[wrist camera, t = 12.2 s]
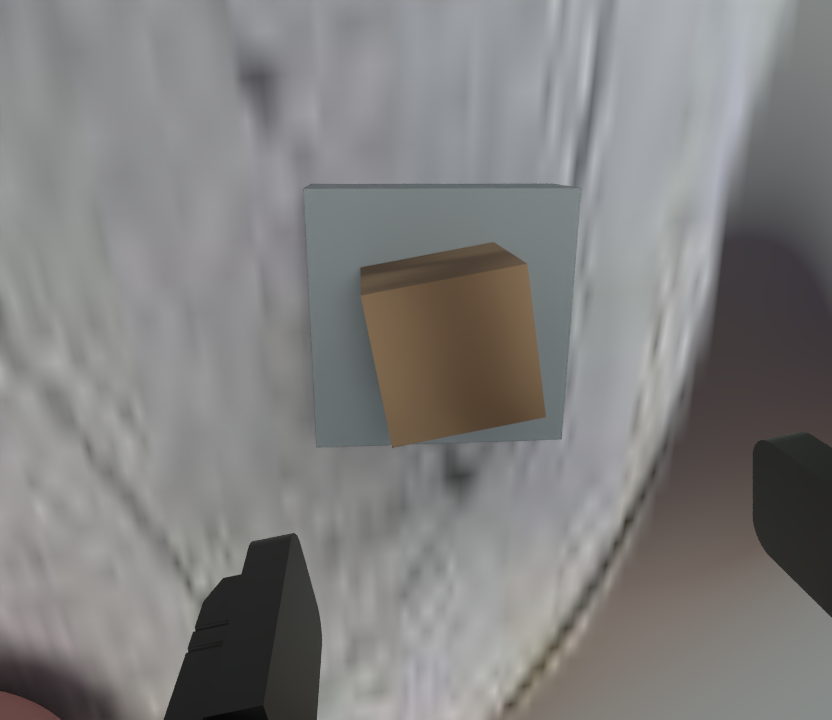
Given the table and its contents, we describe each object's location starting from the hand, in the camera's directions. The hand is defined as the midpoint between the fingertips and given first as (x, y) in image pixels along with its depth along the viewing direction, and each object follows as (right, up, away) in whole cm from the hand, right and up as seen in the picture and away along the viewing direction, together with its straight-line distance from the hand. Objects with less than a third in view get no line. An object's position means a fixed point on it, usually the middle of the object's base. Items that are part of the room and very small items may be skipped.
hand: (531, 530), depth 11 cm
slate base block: (-1, +6, +17) cm, 18 cm away
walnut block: (-1, +5, +13) cm, 14 cm away
